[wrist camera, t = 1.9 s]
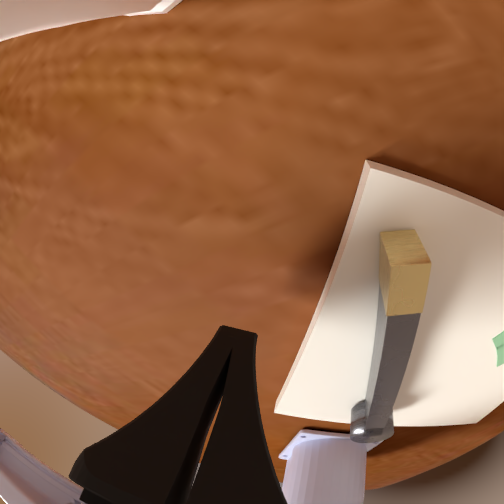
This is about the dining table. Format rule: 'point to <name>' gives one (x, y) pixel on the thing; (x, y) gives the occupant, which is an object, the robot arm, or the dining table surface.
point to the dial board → (431, 319)
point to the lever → (392, 331)
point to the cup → (69, 13)
